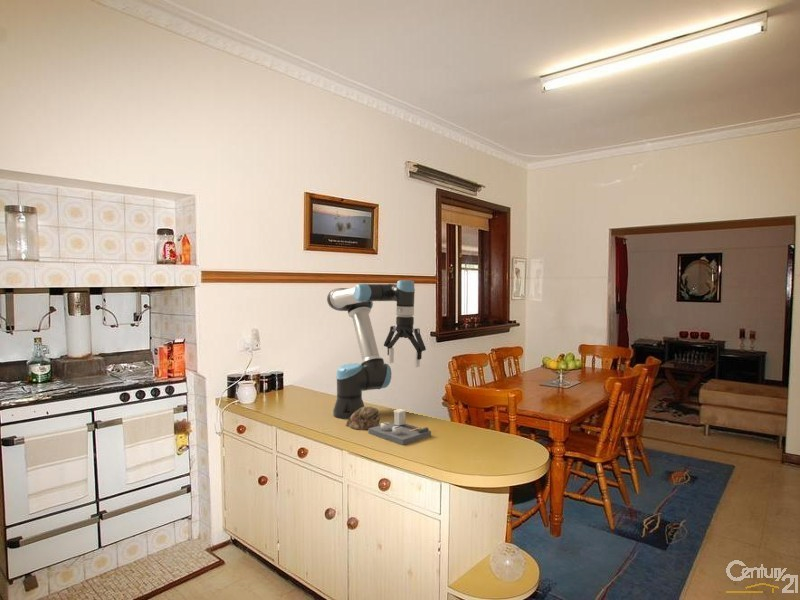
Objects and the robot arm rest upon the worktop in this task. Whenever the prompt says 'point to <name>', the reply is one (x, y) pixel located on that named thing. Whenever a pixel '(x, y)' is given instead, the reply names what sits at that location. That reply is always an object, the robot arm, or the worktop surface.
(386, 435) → the console
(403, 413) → the fader tab
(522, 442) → the worktop surface
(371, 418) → the rock
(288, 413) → the worktop surface
